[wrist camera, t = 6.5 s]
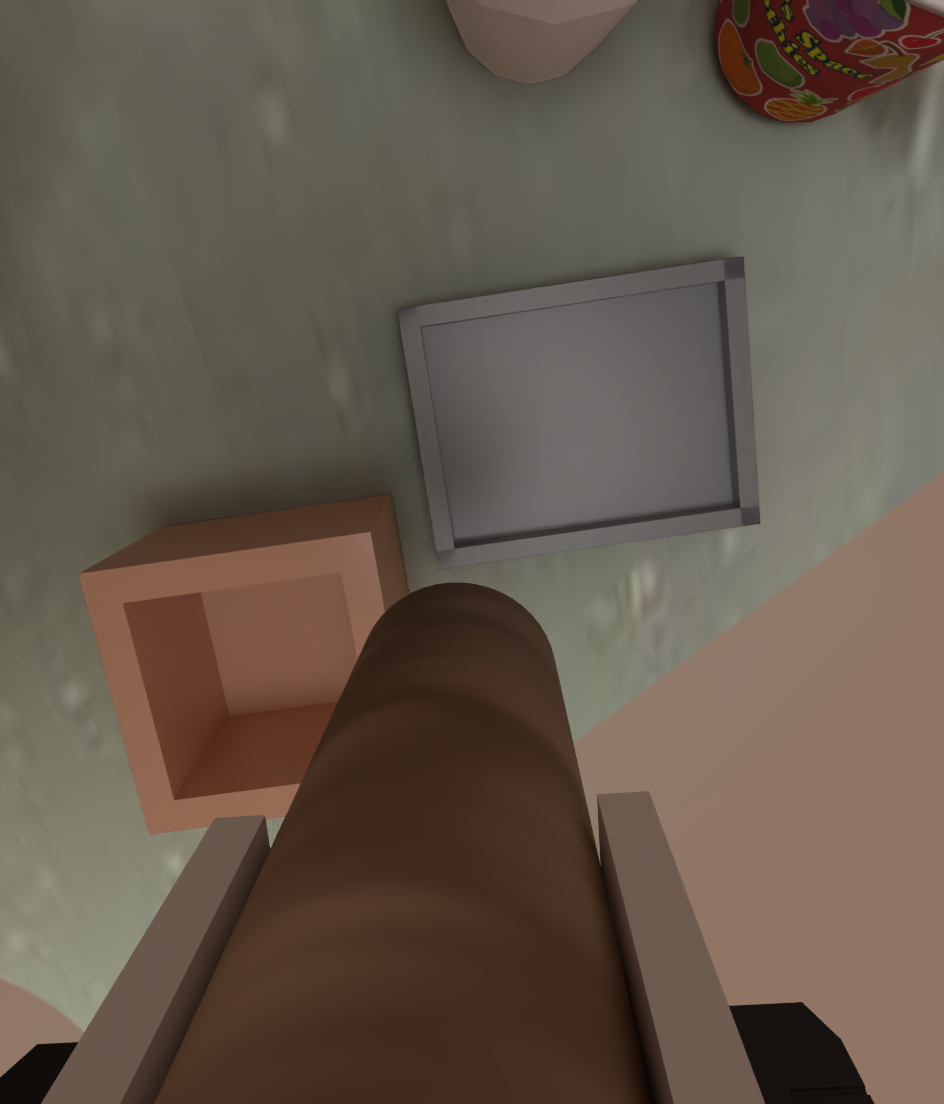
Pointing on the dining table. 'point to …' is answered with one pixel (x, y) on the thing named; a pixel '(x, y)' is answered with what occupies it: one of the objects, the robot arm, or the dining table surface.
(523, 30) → the foam cup
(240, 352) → the dining table surface
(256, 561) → the open box
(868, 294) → the dining table surface
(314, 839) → the dowel
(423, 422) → the tray
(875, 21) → the smoothie
